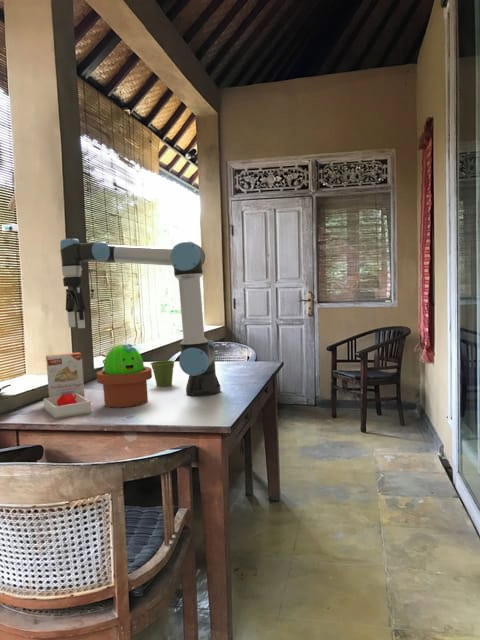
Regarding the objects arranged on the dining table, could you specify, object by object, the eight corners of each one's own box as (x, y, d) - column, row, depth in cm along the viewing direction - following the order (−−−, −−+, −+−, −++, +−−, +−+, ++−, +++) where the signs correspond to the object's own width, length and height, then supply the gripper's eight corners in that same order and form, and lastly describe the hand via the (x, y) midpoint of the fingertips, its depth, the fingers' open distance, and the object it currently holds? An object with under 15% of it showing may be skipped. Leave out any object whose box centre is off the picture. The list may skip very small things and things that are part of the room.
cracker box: (51, 406, 210) (47, 356, 208) (49, 403, 215) (45, 355, 214) (85, 401, 216) (81, 353, 215) (82, 398, 222) (79, 351, 220)
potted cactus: (93, 402, 212) (88, 344, 210) (142, 394, 223) (138, 338, 221) (107, 412, 193) (102, 348, 191) (161, 403, 204) (157, 342, 203)
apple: (53, 398, 194) (73, 388, 197) (53, 398, 200) (71, 389, 204) (62, 414, 194) (81, 404, 198) (61, 414, 201) (79, 404, 204)
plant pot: (178, 382, 247) (177, 359, 246) (173, 387, 235) (171, 363, 235) (155, 383, 248) (154, 360, 248) (148, 388, 237) (147, 364, 236)
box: (91, 412, 194) (90, 401, 194) (55, 419, 187) (54, 407, 187) (77, 403, 212) (76, 393, 211) (44, 409, 204) (43, 398, 204)
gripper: (90, 274, 200) (95, 327, 201) (73, 277, 221) (77, 325, 222) (71, 275, 196) (76, 329, 197) (55, 278, 216) (59, 327, 218)
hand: (76, 327), depth 210 cm, fingers open, 13 cm apart
